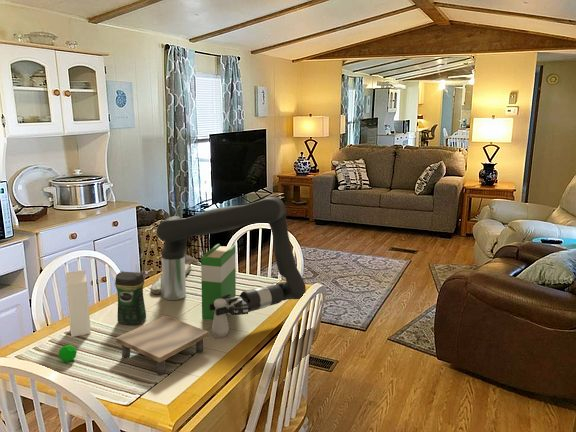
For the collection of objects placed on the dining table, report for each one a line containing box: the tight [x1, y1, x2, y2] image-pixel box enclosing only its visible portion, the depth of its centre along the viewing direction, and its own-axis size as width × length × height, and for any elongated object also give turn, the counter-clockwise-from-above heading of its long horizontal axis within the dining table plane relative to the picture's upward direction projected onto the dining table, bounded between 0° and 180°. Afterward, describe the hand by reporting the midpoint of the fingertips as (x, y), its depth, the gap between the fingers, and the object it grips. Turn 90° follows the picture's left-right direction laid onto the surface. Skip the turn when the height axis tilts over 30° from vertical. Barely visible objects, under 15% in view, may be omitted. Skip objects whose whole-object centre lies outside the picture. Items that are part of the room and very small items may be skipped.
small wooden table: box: [115, 315, 209, 376], centre depth 148 cm, size 20×20×6 cm
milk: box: [65, 269, 92, 338], centre depth 159 cm, size 6×6×22 cm
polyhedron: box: [58, 344, 77, 363], centre depth 143 cm, size 5×5×5 cm
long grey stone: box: [149, 263, 192, 295], centre depth 211 cm, size 35×5×10 cm
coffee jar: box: [114, 270, 147, 326], centre depth 169 cm, size 10×8×19 cm
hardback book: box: [200, 243, 237, 321], centre depth 179 cm, size 18×7×24 cm, turn 169°
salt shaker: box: [211, 298, 230, 339], centre depth 161 cm, size 6×6×13 cm
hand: (213, 310), depth 158 cm, fingers closed on salt shaker, 4 cm apart
